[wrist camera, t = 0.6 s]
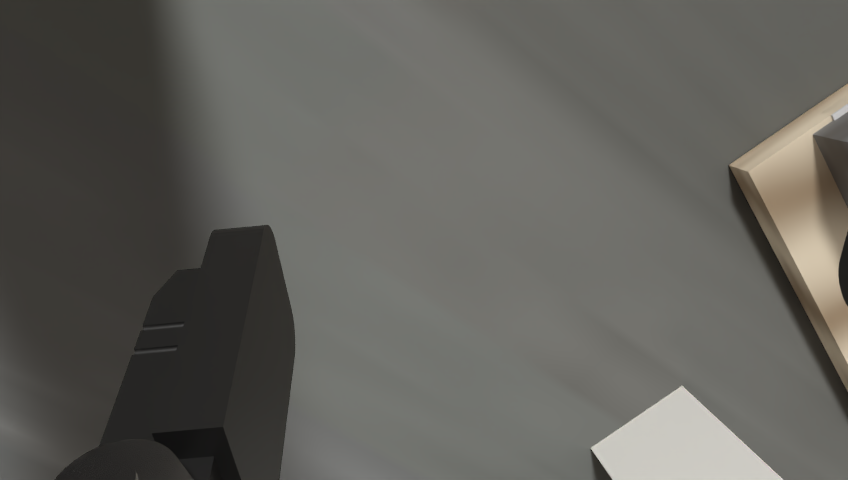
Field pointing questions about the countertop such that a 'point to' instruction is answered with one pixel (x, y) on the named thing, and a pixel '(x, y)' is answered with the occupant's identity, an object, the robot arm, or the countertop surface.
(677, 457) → the white block
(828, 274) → the board
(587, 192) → the countertop surface
